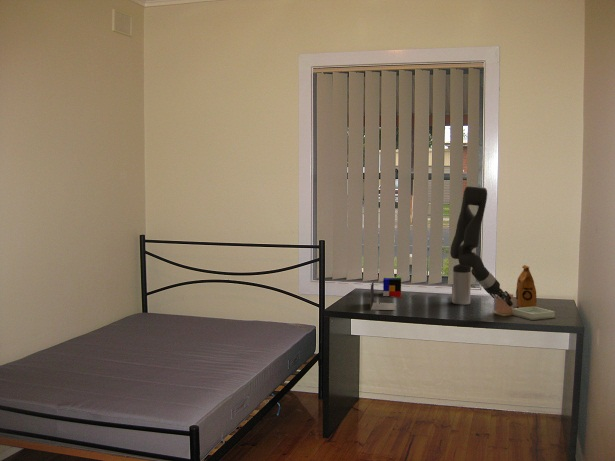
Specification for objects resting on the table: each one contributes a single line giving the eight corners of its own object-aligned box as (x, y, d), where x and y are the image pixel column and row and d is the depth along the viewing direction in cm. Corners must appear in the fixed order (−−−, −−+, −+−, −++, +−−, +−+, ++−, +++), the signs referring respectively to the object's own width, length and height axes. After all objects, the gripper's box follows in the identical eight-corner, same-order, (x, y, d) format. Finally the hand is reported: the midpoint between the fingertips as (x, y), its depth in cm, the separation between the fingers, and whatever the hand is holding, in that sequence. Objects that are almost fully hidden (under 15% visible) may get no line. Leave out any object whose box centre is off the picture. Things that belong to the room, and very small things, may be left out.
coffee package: (516, 310, 324) (517, 267, 323) (515, 305, 336) (516, 264, 335) (537, 311, 322) (538, 268, 320) (535, 306, 334) (536, 265, 332)
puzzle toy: (383, 296, 364) (383, 279, 364) (384, 293, 374) (384, 276, 373) (400, 297, 363) (400, 279, 362) (401, 294, 373) (401, 277, 372)
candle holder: (492, 312, 318) (492, 303, 318) (505, 311, 322) (505, 301, 321) (503, 316, 311) (503, 305, 311) (516, 314, 314) (516, 304, 314)
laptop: (395, 311, 325) (395, 286, 324) (370, 310, 327) (370, 285, 326) (396, 304, 342) (396, 280, 341) (372, 304, 344) (372, 280, 343)
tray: (511, 314, 314) (511, 308, 314) (533, 312, 320) (534, 306, 319) (531, 320, 301) (531, 314, 301) (554, 317, 307) (554, 311, 307)
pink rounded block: (496, 311, 318) (496, 293, 317) (507, 310, 320) (507, 292, 320) (503, 313, 313) (503, 295, 312) (515, 312, 315) (515, 294, 315)
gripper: (502, 278, 305) (521, 301, 311) (483, 274, 319) (502, 296, 324) (493, 290, 304) (512, 312, 309) (474, 285, 317) (493, 307, 322)
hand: (507, 304), depth 317 cm, fingers closed on pink rounded block, 5 cm apart
